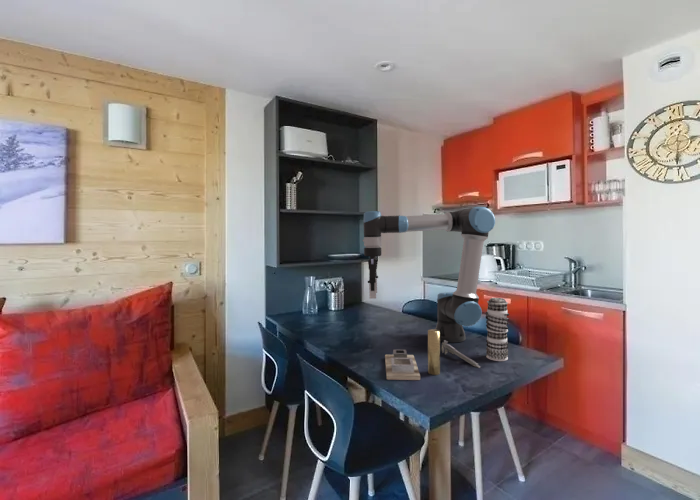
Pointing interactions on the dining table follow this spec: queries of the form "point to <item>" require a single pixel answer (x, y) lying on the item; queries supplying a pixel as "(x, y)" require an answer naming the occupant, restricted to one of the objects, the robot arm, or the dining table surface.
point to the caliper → (457, 353)
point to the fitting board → (401, 366)
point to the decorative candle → (497, 329)
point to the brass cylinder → (434, 352)
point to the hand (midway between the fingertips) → (373, 295)
